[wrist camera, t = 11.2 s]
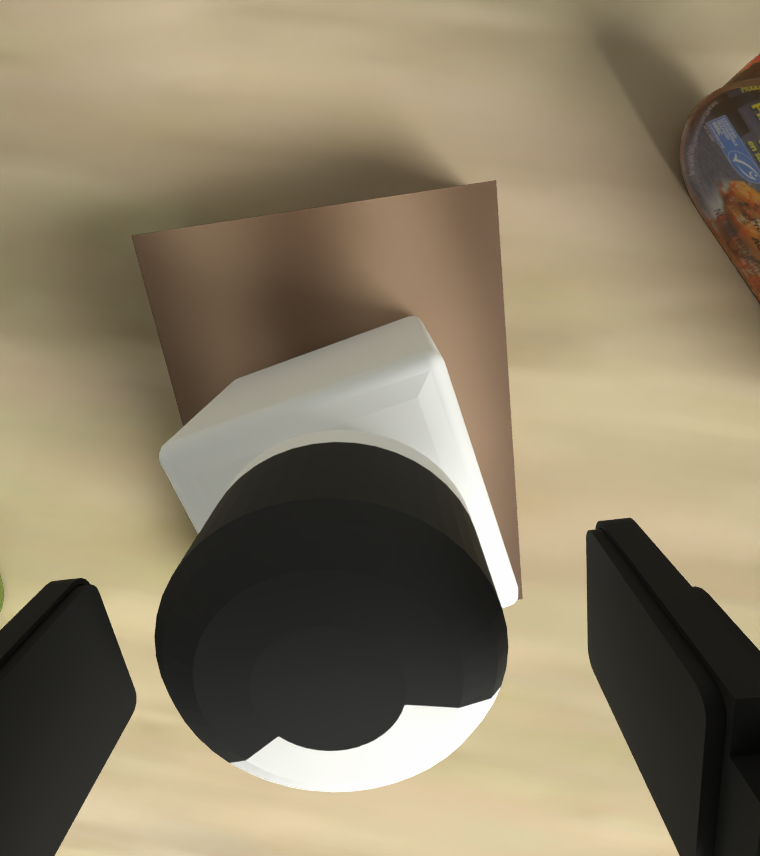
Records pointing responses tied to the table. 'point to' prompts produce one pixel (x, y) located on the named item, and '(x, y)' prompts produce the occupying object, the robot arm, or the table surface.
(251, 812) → the table surface
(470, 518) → the medicine bottle
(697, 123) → the tin
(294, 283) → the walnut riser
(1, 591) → the plant pot
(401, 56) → the table surface
